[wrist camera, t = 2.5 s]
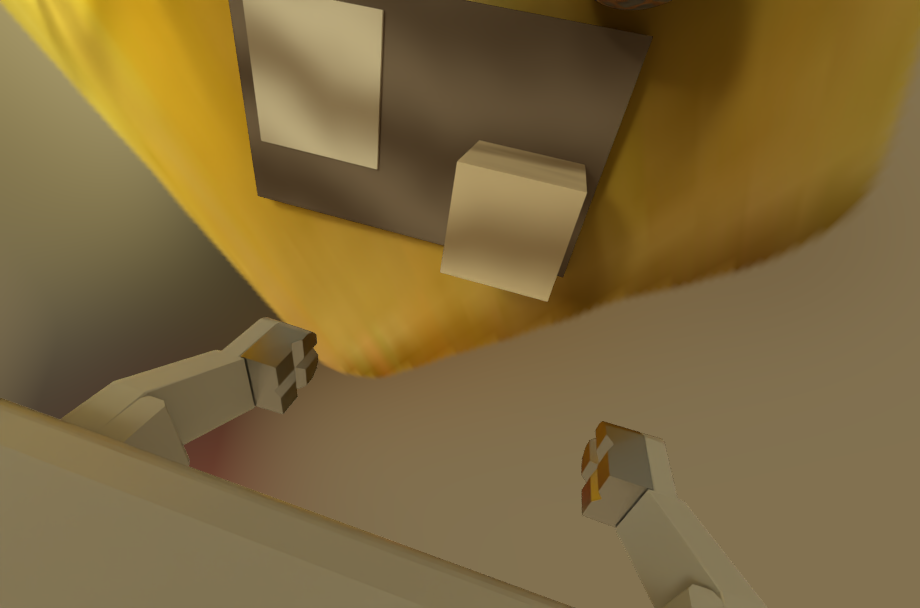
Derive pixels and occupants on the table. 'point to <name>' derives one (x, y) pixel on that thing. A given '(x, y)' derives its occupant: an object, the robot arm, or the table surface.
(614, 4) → the vase
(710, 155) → the table surface
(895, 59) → the table surface
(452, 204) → the block
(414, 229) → the board
